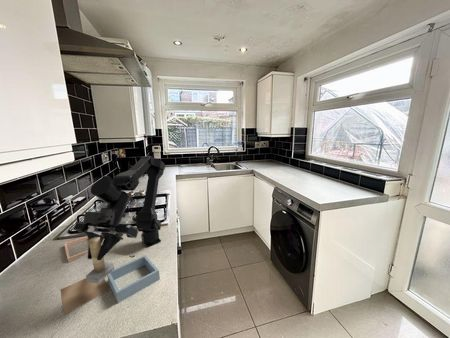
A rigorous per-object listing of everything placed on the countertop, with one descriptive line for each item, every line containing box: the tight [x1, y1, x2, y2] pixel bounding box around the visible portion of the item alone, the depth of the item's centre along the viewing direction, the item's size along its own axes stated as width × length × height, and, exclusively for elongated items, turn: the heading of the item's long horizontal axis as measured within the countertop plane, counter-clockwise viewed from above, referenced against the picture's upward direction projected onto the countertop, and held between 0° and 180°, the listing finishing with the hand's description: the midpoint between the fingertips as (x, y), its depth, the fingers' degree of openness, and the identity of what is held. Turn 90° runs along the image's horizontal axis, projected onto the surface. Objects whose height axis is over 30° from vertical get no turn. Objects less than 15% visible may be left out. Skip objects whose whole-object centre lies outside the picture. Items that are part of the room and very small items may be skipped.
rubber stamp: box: [85, 237, 115, 283], centre depth 57 cm, size 6×4×12 cm, turn 170°
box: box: [106, 254, 161, 304], centre depth 63 cm, size 13×12×4 cm
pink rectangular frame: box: [63, 235, 89, 263], centre depth 85 cm, size 11×16×2 cm
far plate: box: [60, 277, 110, 315], centre depth 60 cm, size 11×12×1 cm
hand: (93, 259), depth 55 cm, fingers closed on rubber stamp, 3 cm apart
